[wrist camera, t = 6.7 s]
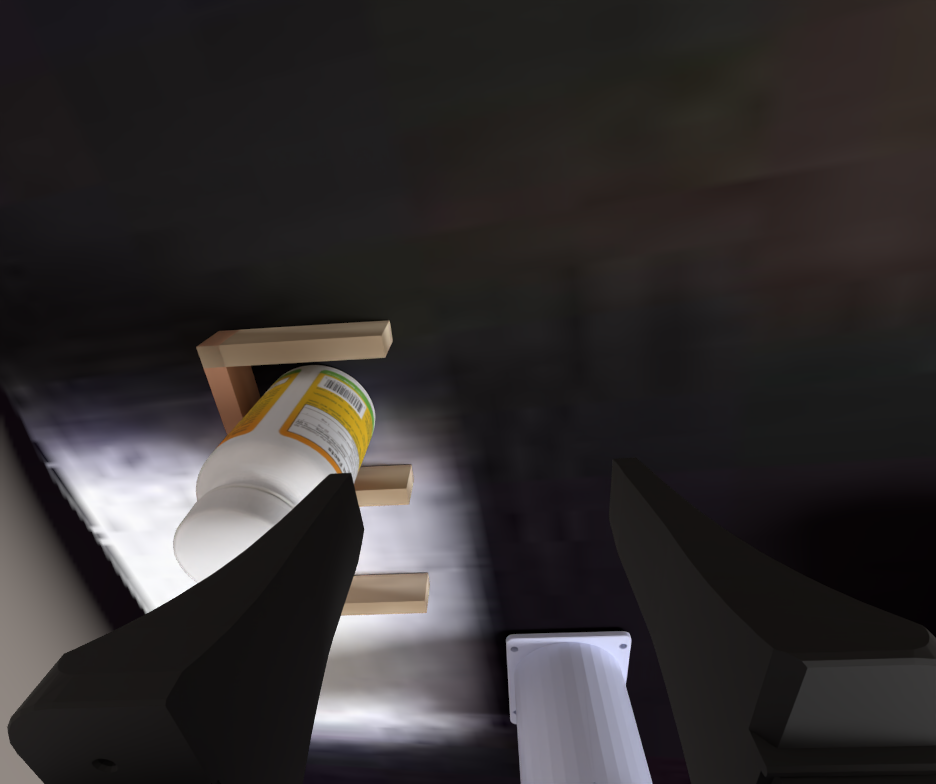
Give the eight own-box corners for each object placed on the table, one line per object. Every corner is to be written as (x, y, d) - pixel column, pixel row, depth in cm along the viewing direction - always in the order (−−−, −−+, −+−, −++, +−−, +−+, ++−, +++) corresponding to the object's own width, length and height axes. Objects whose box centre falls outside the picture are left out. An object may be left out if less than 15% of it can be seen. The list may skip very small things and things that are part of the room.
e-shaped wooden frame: (429, 584, 29) (426, 612, 27) (302, 588, 30) (291, 616, 28) (389, 320, 22) (381, 335, 20) (219, 330, 22) (195, 346, 20)
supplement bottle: (277, 453, 25) (170, 612, 16) (261, 359, 23) (126, 488, 14) (379, 457, 25) (327, 619, 16) (374, 364, 23) (309, 496, 14)
